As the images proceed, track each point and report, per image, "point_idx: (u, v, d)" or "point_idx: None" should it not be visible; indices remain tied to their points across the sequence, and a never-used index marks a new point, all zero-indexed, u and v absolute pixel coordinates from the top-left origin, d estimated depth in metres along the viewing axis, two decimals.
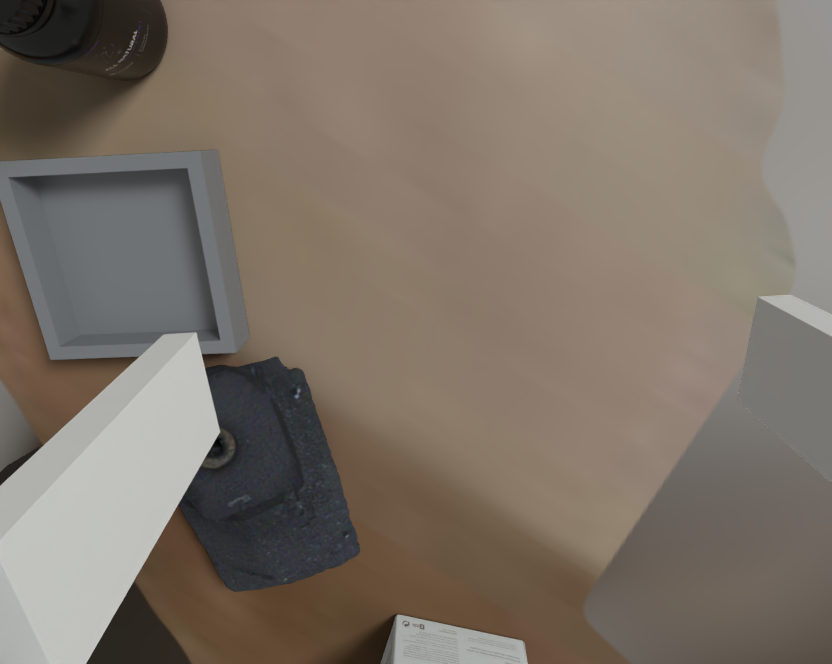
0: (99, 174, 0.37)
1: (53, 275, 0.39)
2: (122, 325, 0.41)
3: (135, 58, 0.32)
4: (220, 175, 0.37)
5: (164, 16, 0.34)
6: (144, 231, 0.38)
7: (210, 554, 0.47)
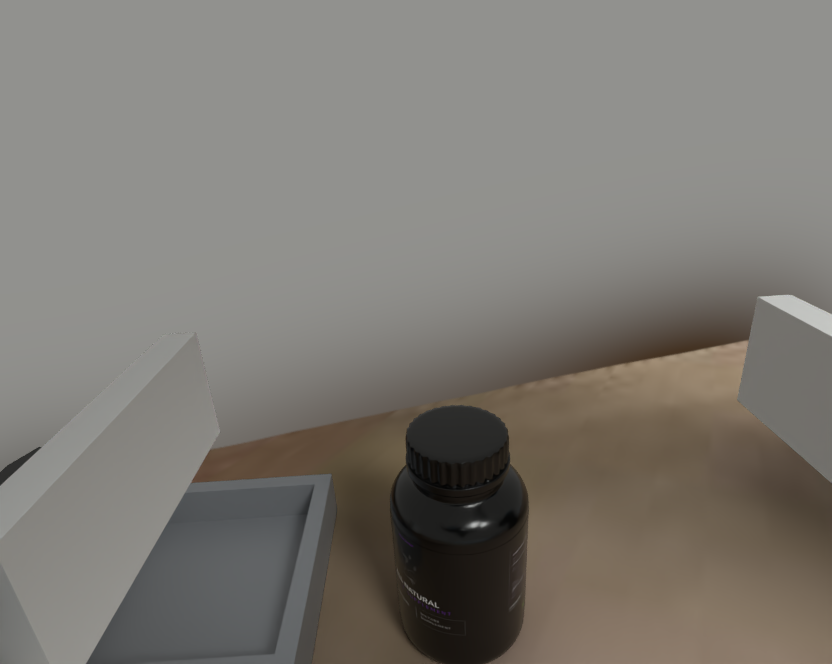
0: None
1: (215, 508, 0.36)
2: None
3: (412, 608, 0.26)
4: None
5: (470, 662, 0.26)
6: (227, 603, 0.30)
7: None
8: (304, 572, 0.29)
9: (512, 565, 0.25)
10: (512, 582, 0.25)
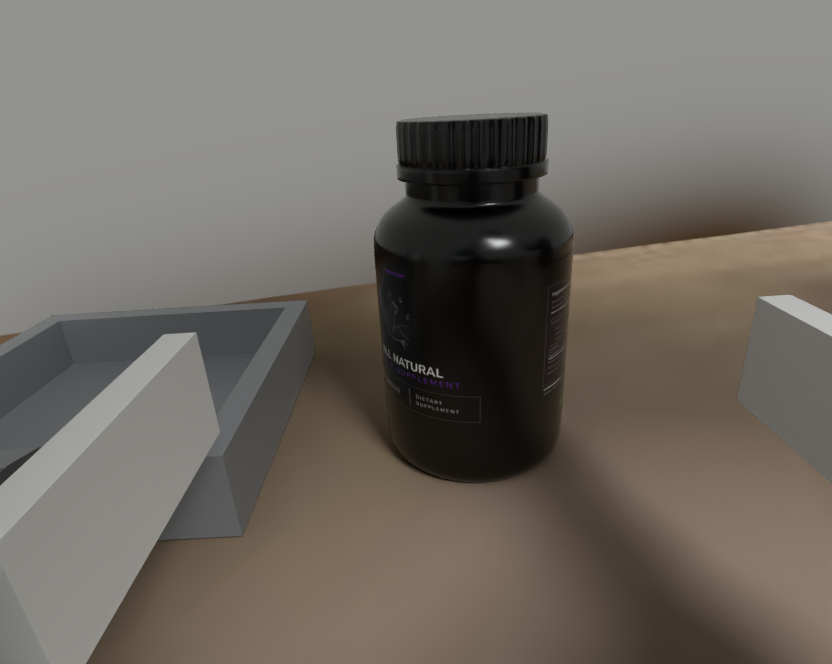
0: None
1: None
2: (44, 394, 0.26)
3: (404, 393, 0.18)
4: (186, 531, 0.17)
5: (486, 471, 0.18)
6: None
7: None
8: (258, 370, 0.21)
9: (550, 312, 0.17)
10: (549, 345, 0.17)
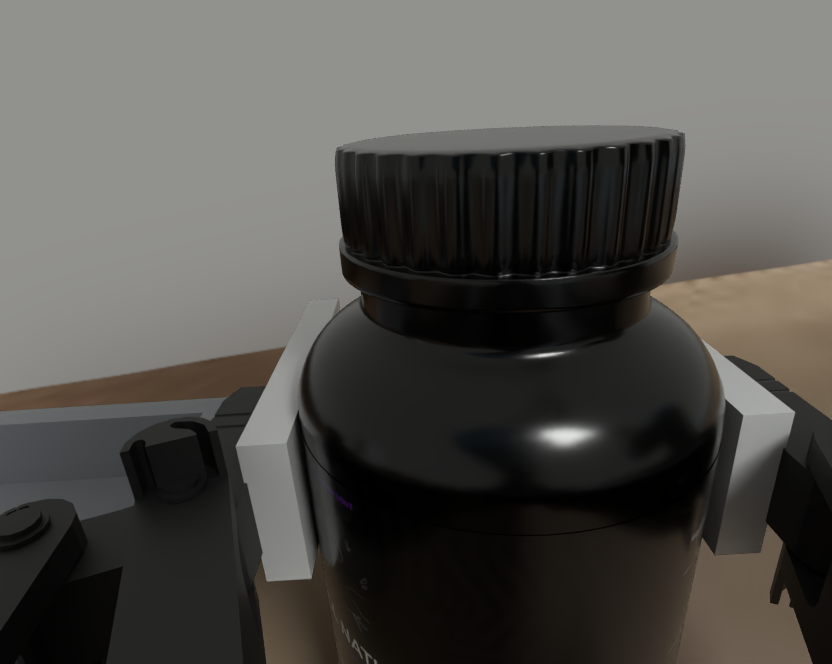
0: None
1: (19, 459, 0.19)
2: None
3: None
4: None
5: None
6: None
7: None
8: None
9: (684, 573, 0.07)
10: (672, 629, 0.08)
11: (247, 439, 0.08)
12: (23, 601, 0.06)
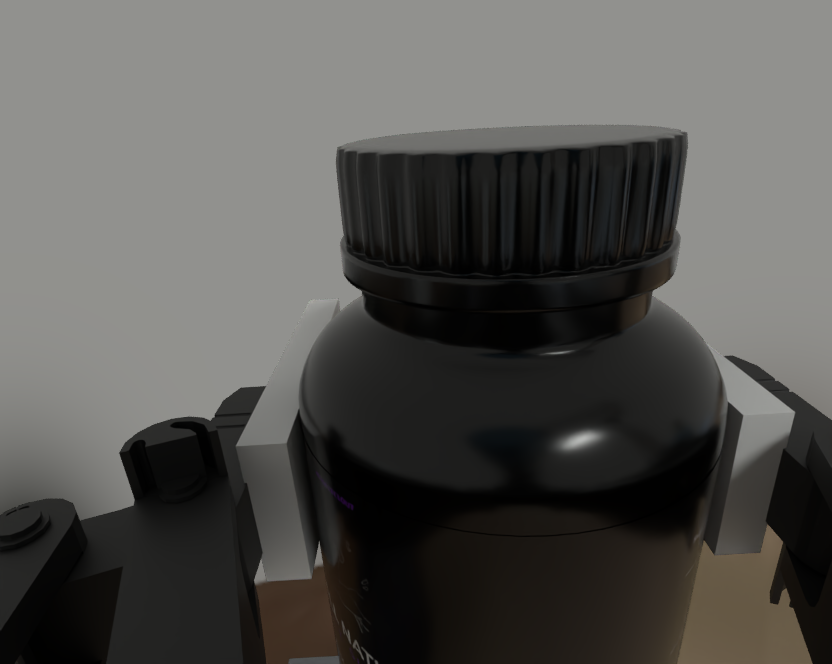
0: None
1: None
2: None
3: None
4: None
5: None
6: None
7: None
8: None
9: (686, 575, 0.07)
10: (674, 630, 0.08)
11: (247, 439, 0.08)
12: (23, 601, 0.06)
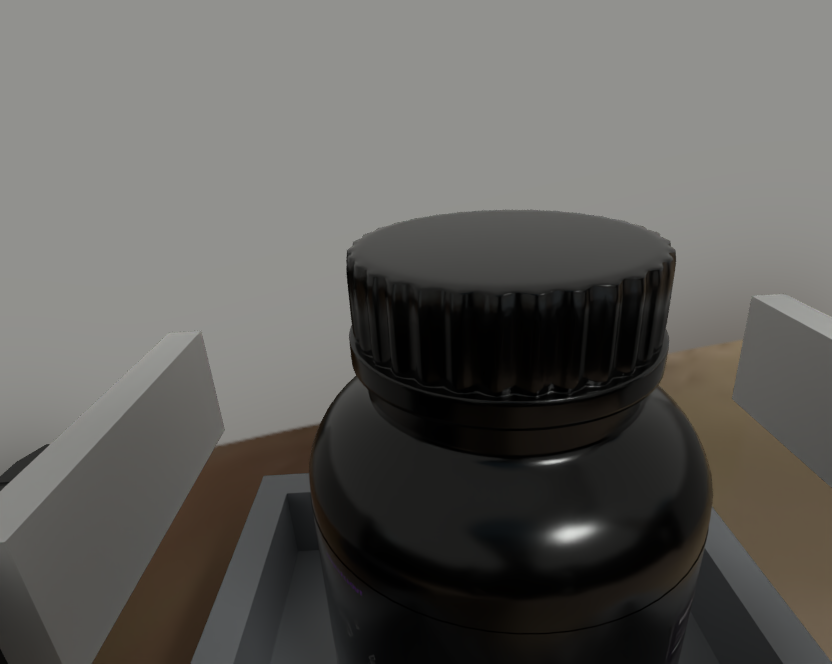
0: (708, 658, 0.14)
1: None
2: (296, 643, 0.15)
3: None
4: None
5: None
6: None
7: None
8: None
9: (673, 651, 0.08)
10: None
11: None
12: None
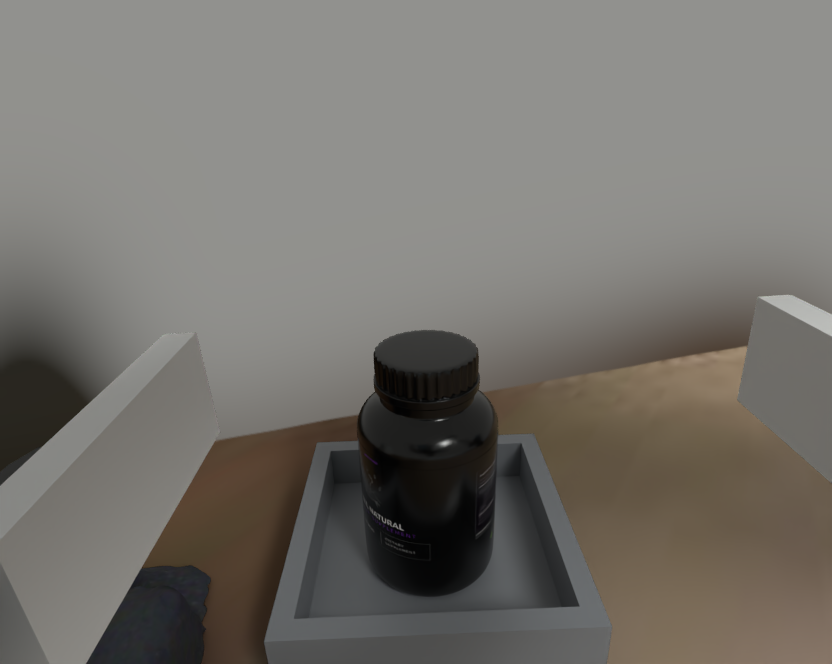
0: (532, 527, 0.30)
1: None
2: (337, 521, 0.31)
3: (377, 534, 0.25)
4: None
5: (435, 591, 0.25)
6: None
7: None
8: (563, 526, 0.27)
9: (479, 487, 0.24)
10: (478, 507, 0.24)
11: None
12: None
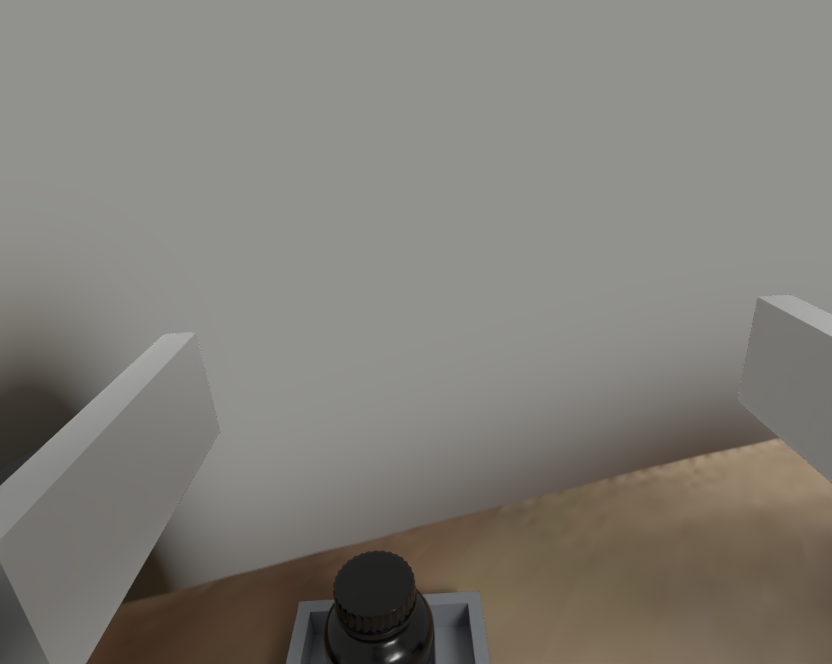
0: None
1: None
2: None
3: None
4: None
5: None
6: None
7: None
8: None
9: None
10: None
11: None
12: None
